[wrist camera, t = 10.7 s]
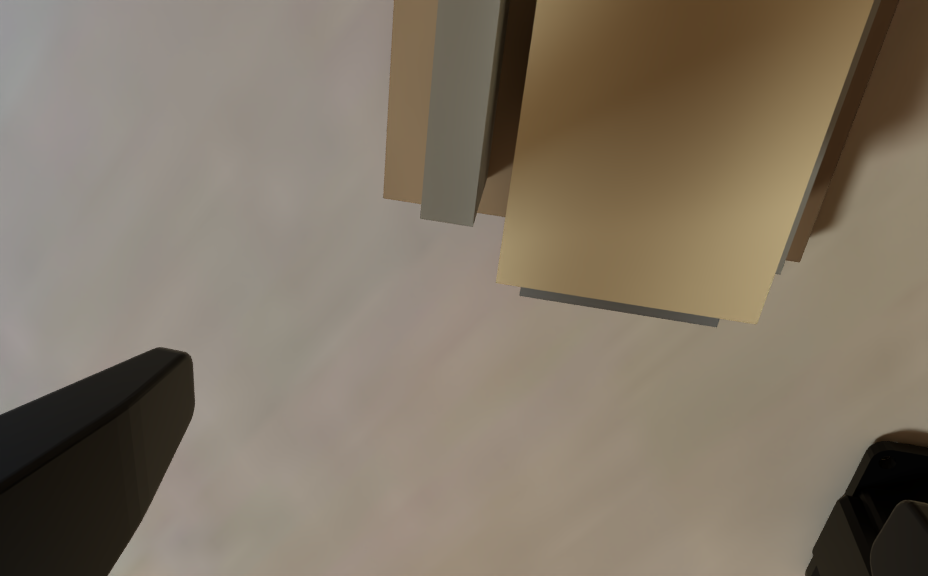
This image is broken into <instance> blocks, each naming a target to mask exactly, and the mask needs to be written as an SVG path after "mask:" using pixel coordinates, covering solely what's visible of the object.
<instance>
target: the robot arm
mask: <svg viewBox="0 0 928 576" xmlns="http://www.w3.org/2000/svg"><path fill="white" fill-rule="evenodd" d="M194 407H195V395H194V376H193V362H192V359H191V356H190V355H189V354H188V353H186V352H183V351H178V350H173V349H168V348H163V347H158V348H155V349H152V350H150V351H147V352H145V353H143V354H140V355H138V356H136V357H133V358H131V359H129V360H126V361H124V362H122V363H119V364H117V365H115V366H112V367H110V368H108V369H105V370H103V371H101V372H98V373H96V374H94V375H92V376H89V377H87V378H85V379H82V380H80V381H78V382H75V383H73V384H71V385H68V386H66V387H64V388H61V389H59V390H57V391H54V392H52V393H50V394H47V395H45V396H43V397H41V398H38V399H36V400H34V401H31V402H29V403H27V404H24V405H22V406H20V407H17V408H15V409H13V410H10V411H8V412H6V413H3V414H1V415H0V576H108V574H109V573H110V571H111V570H112V568H113V566H114V565H115V563H116V562H117V560H118V559H119V557H120V555H121V554H122V552H123V551H124V549H125V547H126V546H127V544H128V543H129V541H130V540H131V538H132V536H133V535H134V533H135V531H136V530H137V528H138V526H139V525H140V523H141V521H142V519H143V517H144V515H145V514H146V512H147V510H148V508H149V506H150V504H151V502H152V500H153V498H154V496H155V494H156V492H157V489H158V487H159V485H160V483H161V481H162V479H163V477H164V475H165V473H166V471H167V469H168V467H169V465H170V463H171V461H172V459H173V457H174V454H175V452H176V450H177V448H178V446H179V444H180V442H181V440H182V438H183V436H184V434H185V432H186V430H187V428H188V426H189V424H190V421H191V419H192V416H193V412H194ZM886 456H890V457H889V458H888V459H885V460H880V459H881V458H883V457H886ZM812 553H813V557H812V559H811V561H810V563H809V565H808V567H807V569H806V572H805V576H928V448H926V447H920V446H914V445H908V444H902V443H896V442H890V441H881V442H877V443H875V444H873V445H871V446H870V447H869V448H868V449H867V450H866V452H865V454H864V456H863V458H862V460H861V462H860V464H859V466H858V468H857V470H856V472H855V474H854V476H853V478H852V480H851V482H850V484H849V486H848V488H847V490H846V492H845V494H844V495H843V496H842V497H841V498H840V499H839V500H837V502H836V504H835V506H834V508H833V510H832V512H831V514H830V516H829V518H828V520H827V522H826V524H825V526H824V528H823V530H822V532H821V534H820V536H819V538H818V540H817V542H816V544H815V546H814V548H813V551H812Z"/></svg>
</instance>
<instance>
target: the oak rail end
mask: <svg viewBox="0 0 928 576" xmlns="http://www.w3.org/2000/svg"><path fill="white" fill-rule="evenodd" d="M873 2H874V0H537V4H536V11H535V18H534V25H533V32H532V39H531V45H530V52H529V59H528V66H527V73H526V80H525V87H524V93H523V100H522V107H521V114H520V121H519V128H518V135H517V142H516V148H515V155H514V162H513V169H512V176H511V183H510V190H509V197H508V203H507V210H506V217H505V224H504V231H503V238H502V245H501V252H500V258H499V265H498V272H497V279H496V283H499V284H506V285H512V286H518V287H521V290H520V296H524V297H531V298H537V299H543V300H549V301H556V302H562V303H568V304H574V305H581V306H587V307H593V308H599V309H606V310H612V311H618V312H624V313H631V314H637V315H643V316H649V317H656V318H662V319H668V320H674V321H681V322H687V323H693V324H699V325H706V326H712V327H717V325H718V322H719V319H726V320H732V321H738V322H744V323H751V324H757V322H758V320H759V317H760V314H761V311H762V309H763V306H764V303H765V300H766V298H767V295H768V292H769V289H770V286H771V284H772V281H773V278H774V275H775V273H776V270H777V267H778V264H779V262H780V259H781V256H782V253H783V251H784V248H785V245H786V242H787V240H788V237H789V234H790V231H791V229H792V226H793V223H794V220H795V217H796V215H797V212H798V209H799V206H800V204H801V201H802V198H803V195H804V193H805V190H806V187H807V184H808V182H809V179H810V176H811V173H812V171H813V168H814V165H815V162H816V159H817V157H818V154H819V151H820V148H821V146H822V143H823V140H824V137H825V135H826V132H827V129H828V126H829V124H830V121H831V118H832V115H833V113H834V110H835V107H836V104H837V102H838V99H839V96H840V93H841V90H842V88H843V85H844V82H845V79H846V77H847V74H848V71H849V68H850V66H851V63H852V60H853V57H854V55H855V52H856V49H857V46H858V44H859V41H860V38H861V35H862V33H863V30H864V27H865V24H866V21H867V19H868V16H869V13H870V10H871V8H872V5H873Z"/></svg>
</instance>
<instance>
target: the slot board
mask: <svg viewBox="0 0 928 576" xmlns="http://www.w3.org/2000/svg"><path fill="white" fill-rule="evenodd" d="M898 2H899V0H874V2H873V5H872V8H871V10H870V13H869V16H868V19H867V21H866V24H865V27H864V30H863V33H862V35H861V38H860V41H859V44H858V46H857V49H856V52H855V55H854V57H853V60H852V63H851V66H850V68H849V71H848V74H847V77H846V79H845V82H844V85H843V88H842V90H841V93H840V96H839V99H838V102H837V104H836V107H835V110H834V113H833V115H832V118H831V121H830V124H829V126H828V129H827V132H826V135H825V137H824V140H823V143H822V146H821V148H820V151H819V154H818V157H817V159H816V162H815V165H814V168H813V171H812V173H811V176H810V179H809V182H808V184H807V187H806V190H805V193H804V195H803V198H802V201H801V204H800V206H799V209H798V212H797V215H796V217H795V220H794V223H793V226H792V229H791V231H790V234H789V237H788V240H787V242H786V245H785V248H784V251H783V253H782V256H781V259H780V262H779V264H778V267H777V270H776V273H775V274H779V275H780V274H781V271H782V268H783V266H784V263H785V260H787V261H794V262H800V261H801V258H802V255H803V253H804V250H805V247H806V245H807V242H808V239H809V237H810V234H811V232H812V229H813V226H814V224H815V221H816V218H817V216H818V213H819V210H820V208H821V205H822V203H823V200H824V197H825V195H826V192H827V189H828V187H829V184H830V181H831V179H832V176H833V174H834V171H835V168H836V166H837V163H838V160H839V158H840V155H841V152H842V150H843V147H844V145H845V142H846V139H847V137H848V134H849V131H850V129H851V126H852V123H853V121H854V118H855V116H856V113H857V110H858V108H859V105H860V102H861V100H862V97H863V94H864V92H865V89H866V87H867V84H868V81H869V79H870V76H871V73H872V71H873V68H874V65H875V63H876V60H877V58H878V55H879V52H880V50H881V47H882V44H883V42H884V39H885V36H886V34H887V31H888V29H889V26H890V23H891V21H892V18H893V15H894V13H895V10H896V7H897V5H898ZM536 4H537V0H394V11H393V29H392V48H391V66H390V84H389V103H388V121H387V139H386V158H385V176H384V194H383V198H385V199H391V200H398V201H404V202H411V203H417V204H421V214H420V219H426V220H432V221H438V222H445V223H451V224H458V225H464V226H471V227H473V224H474V221H475V217H476V214H477V213H482V214H489V215H495V216H502V217H506V210H507V203H508V197H509V190H510V183H511V176H512V169H513V162H514V155H515V148H516V142H517V135H518V128H519V121H520V114H521V107H522V100H523V93H524V87H525V80H526V73H527V66H528V59H529V52H530V45H531V39H532V32H533V25H534V18H535V11H536Z"/></svg>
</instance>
